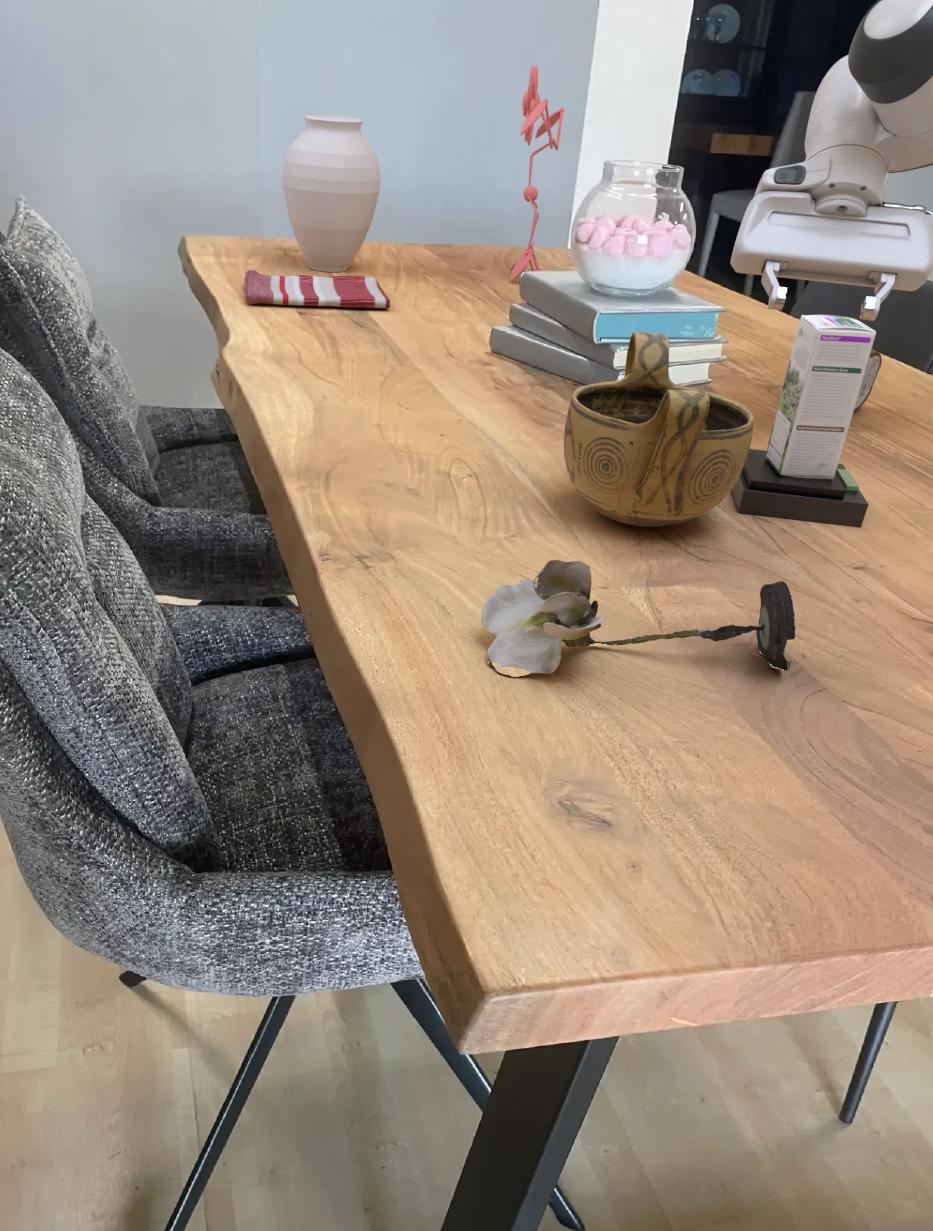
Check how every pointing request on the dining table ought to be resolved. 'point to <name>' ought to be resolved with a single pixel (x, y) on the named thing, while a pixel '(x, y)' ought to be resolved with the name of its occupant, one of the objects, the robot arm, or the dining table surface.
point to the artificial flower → (599, 620)
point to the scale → (797, 494)
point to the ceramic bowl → (653, 442)
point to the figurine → (532, 113)
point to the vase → (331, 190)
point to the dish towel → (315, 290)
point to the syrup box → (819, 395)
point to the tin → (868, 378)
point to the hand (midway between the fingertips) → (822, 311)
